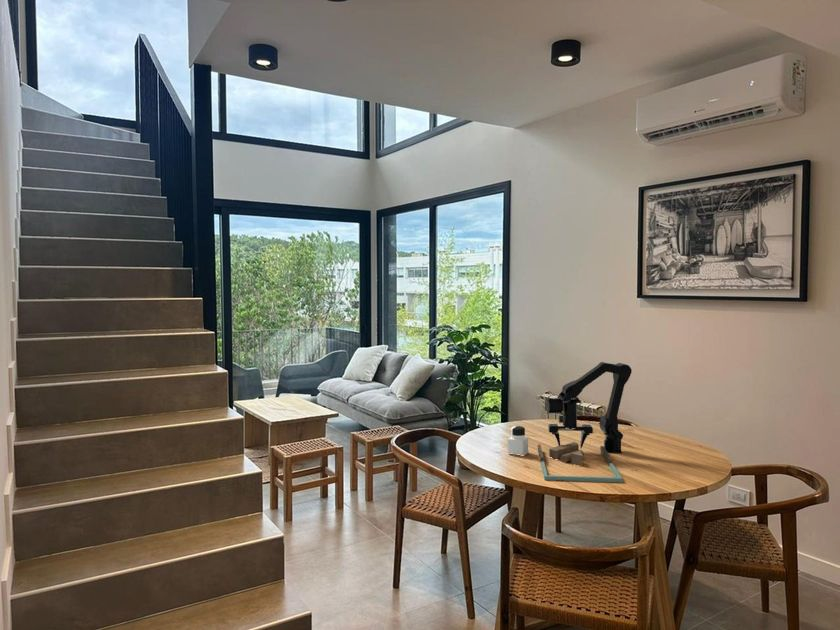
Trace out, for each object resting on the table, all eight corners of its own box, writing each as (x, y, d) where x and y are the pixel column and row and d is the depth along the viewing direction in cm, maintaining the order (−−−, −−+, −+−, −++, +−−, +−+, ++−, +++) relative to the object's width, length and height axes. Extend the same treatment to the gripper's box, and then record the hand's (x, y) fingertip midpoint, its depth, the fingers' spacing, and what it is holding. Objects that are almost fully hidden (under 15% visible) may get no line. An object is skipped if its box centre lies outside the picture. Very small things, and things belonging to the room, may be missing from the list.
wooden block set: (547, 446, 243) (573, 439, 255) (547, 459, 244) (573, 451, 255) (581, 454, 230) (606, 446, 242) (581, 468, 230) (606, 459, 242)
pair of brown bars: (603, 452, 251) (603, 445, 251) (612, 466, 231) (611, 458, 231) (537, 451, 255) (537, 444, 255) (540, 464, 235) (540, 457, 235)
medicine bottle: (528, 452, 252) (528, 426, 252) (523, 456, 246) (522, 429, 246) (513, 450, 256) (513, 424, 256) (507, 454, 250) (507, 427, 250)
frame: (612, 467, 230) (612, 463, 230) (622, 482, 211) (622, 478, 211) (541, 465, 234) (540, 461, 234) (544, 480, 215) (544, 476, 215)
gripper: (589, 409, 258) (589, 443, 259) (547, 408, 261) (547, 442, 262) (593, 414, 247) (593, 450, 248) (549, 414, 250) (549, 449, 251)
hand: (570, 447), depth 252 cm, fingers open, 9 cm apart
